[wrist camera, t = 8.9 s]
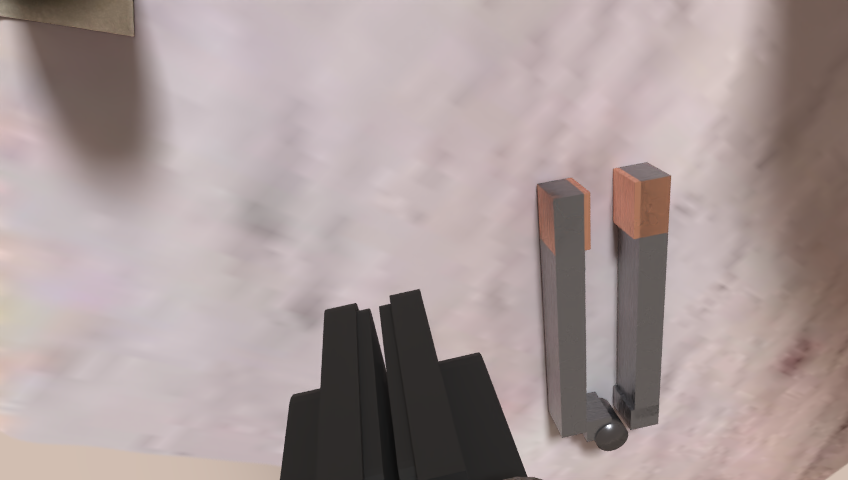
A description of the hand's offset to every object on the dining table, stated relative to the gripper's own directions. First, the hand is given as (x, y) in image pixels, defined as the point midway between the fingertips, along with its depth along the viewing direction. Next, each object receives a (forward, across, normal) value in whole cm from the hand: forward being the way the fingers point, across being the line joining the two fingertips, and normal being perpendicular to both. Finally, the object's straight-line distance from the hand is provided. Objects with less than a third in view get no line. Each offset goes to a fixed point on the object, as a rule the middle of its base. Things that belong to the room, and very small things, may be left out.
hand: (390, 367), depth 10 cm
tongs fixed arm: (+26, -17, +19) cm, 36 cm away
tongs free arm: (+26, -13, +19) cm, 35 cm away
